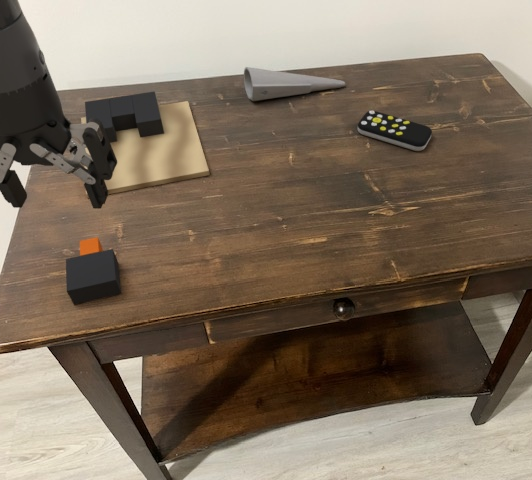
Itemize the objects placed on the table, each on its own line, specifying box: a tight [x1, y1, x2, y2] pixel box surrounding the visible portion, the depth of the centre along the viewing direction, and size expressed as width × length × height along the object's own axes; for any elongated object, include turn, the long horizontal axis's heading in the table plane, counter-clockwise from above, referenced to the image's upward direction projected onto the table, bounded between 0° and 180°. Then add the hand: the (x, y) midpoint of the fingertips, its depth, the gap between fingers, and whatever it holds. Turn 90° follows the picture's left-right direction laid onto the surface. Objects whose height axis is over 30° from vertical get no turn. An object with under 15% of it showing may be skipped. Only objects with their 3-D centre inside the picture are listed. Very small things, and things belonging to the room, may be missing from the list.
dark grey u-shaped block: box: [84, 91, 164, 143], centre depth 93 cm, size 12×9×3 cm
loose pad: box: [65, 236, 122, 306], centre depth 71 cm, size 6×8×3 cm
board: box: [80, 100, 210, 199], centre depth 91 cm, size 19×21×1 cm
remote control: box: [357, 110, 433, 152], centre depth 95 cm, size 6×13×2 cm, turn 64°
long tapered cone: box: [243, 66, 346, 102], centre depth 103 cm, size 6×6×19 cm
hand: (60, 203), depth 58 cm, fingers open, 8 cm apart
